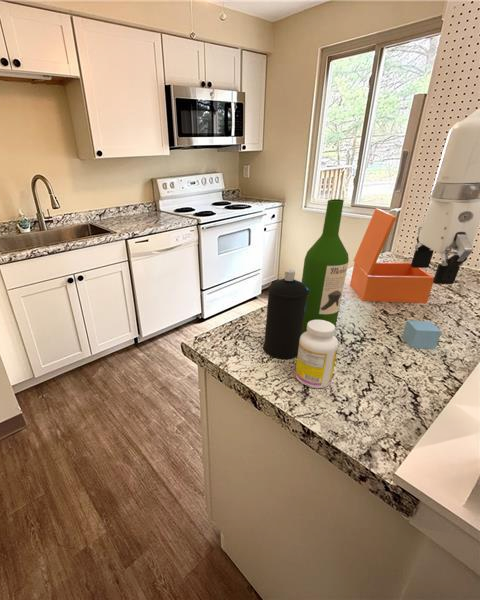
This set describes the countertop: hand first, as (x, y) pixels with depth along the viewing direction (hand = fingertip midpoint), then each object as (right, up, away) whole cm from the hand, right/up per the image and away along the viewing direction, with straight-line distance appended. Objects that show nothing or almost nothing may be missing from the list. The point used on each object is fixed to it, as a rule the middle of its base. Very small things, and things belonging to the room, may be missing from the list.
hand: (430, 274), depth 67 cm
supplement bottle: (-27, -22, -3) cm, 35 cm away
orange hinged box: (+12, -3, +28) cm, 31 cm away
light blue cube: (+2, -15, +5) cm, 16 cm away
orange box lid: (+5, +12, +23) cm, 26 cm away
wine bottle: (-18, -13, +13) cm, 26 cm away
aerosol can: (-29, -17, +7) cm, 35 cm away
